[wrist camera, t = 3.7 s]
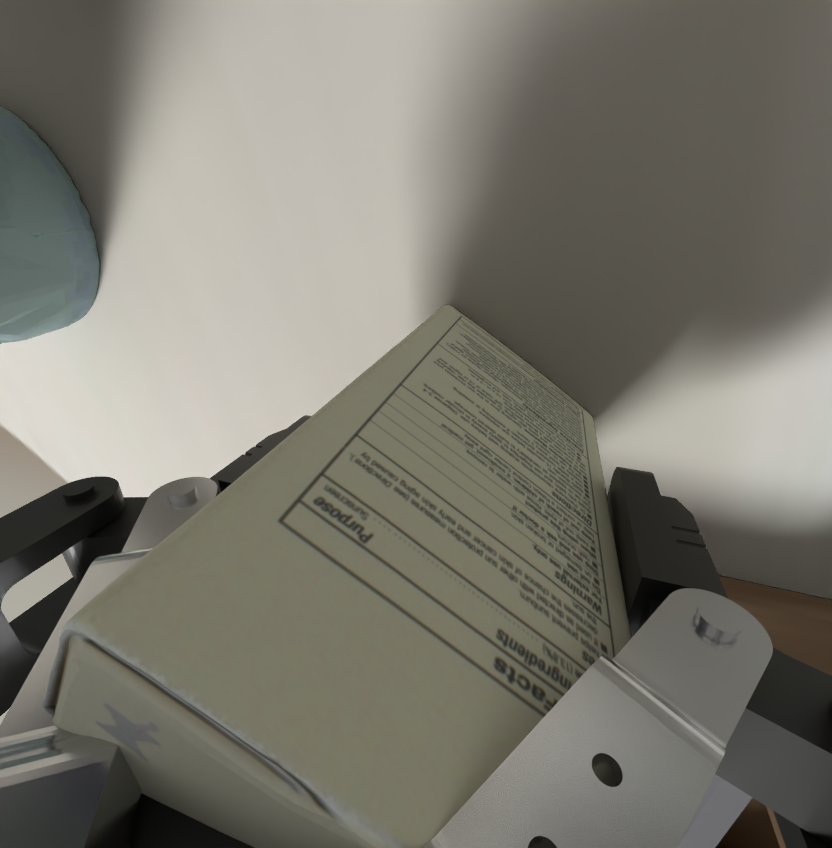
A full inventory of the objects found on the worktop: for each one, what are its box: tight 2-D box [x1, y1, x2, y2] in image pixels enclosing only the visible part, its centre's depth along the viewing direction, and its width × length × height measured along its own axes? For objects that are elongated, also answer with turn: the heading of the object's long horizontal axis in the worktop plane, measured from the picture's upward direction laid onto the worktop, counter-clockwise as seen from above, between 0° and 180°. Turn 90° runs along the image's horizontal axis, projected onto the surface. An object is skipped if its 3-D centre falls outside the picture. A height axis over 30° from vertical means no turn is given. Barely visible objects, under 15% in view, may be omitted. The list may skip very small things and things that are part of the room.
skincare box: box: [42, 305, 632, 848], centre depth 9 cm, size 6×4×12 cm
